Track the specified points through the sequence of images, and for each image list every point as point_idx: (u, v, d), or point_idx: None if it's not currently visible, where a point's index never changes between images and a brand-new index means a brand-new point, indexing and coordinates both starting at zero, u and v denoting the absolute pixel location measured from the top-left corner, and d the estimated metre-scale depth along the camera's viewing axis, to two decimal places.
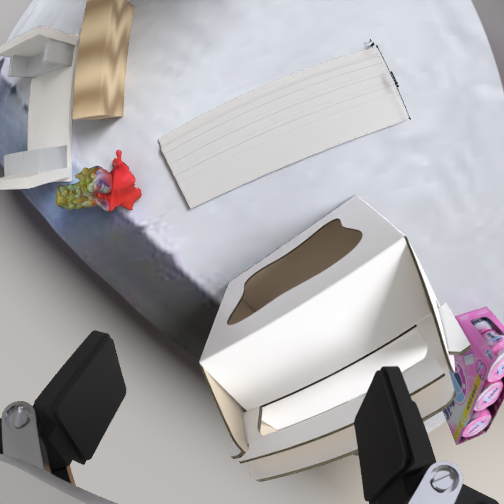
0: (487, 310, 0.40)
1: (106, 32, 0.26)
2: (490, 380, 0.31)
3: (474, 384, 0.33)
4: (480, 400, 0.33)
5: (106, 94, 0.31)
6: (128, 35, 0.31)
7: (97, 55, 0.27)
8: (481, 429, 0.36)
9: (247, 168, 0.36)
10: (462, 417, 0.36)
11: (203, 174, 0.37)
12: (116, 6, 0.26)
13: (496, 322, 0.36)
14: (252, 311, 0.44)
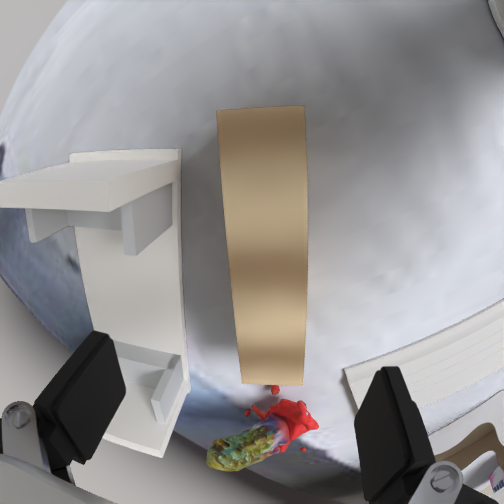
0: None
1: (307, 230, 0.16)
2: None
3: None
4: None
5: None
6: None
7: (291, 286, 0.17)
8: None
9: (435, 394, 0.26)
10: None
11: None
12: None
13: None
14: None
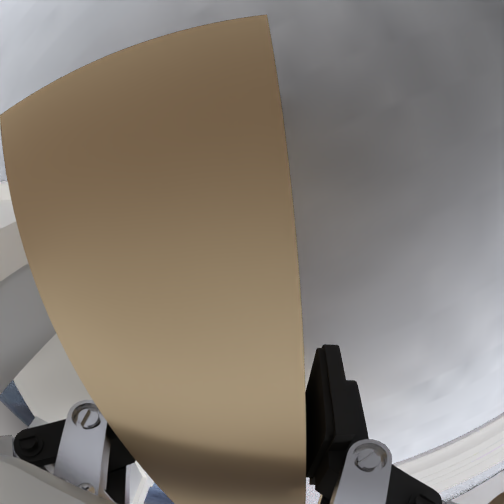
0: None
1: (305, 431, 0.05)
2: None
3: None
4: None
5: None
6: None
7: (271, 494, 0.06)
8: None
9: (460, 479, 0.16)
10: None
11: None
12: None
13: None
14: None
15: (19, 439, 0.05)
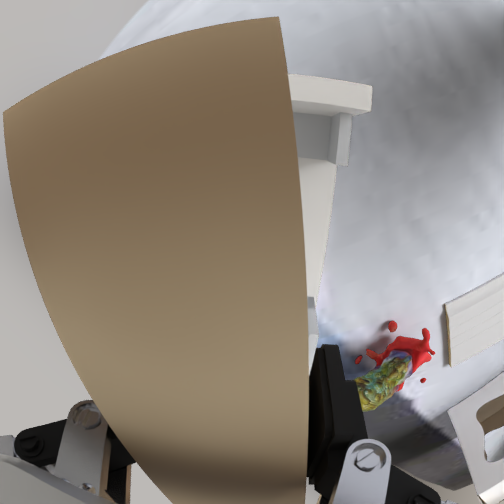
0: None
1: (307, 434, 0.05)
2: None
3: None
4: None
5: None
6: None
7: (271, 496, 0.06)
8: None
9: None
10: None
11: (474, 339, 0.29)
12: None
13: None
14: None
15: (20, 439, 0.05)
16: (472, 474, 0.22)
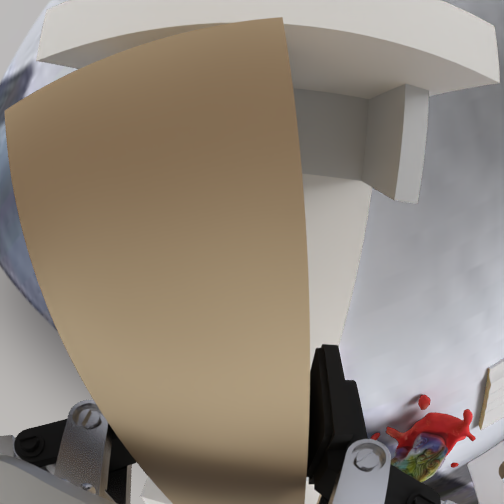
0: None
1: (308, 434, 0.05)
2: None
3: None
4: None
5: None
6: None
7: (271, 496, 0.06)
8: None
9: None
10: None
11: None
12: None
13: None
14: None
15: (20, 440, 0.05)
16: None
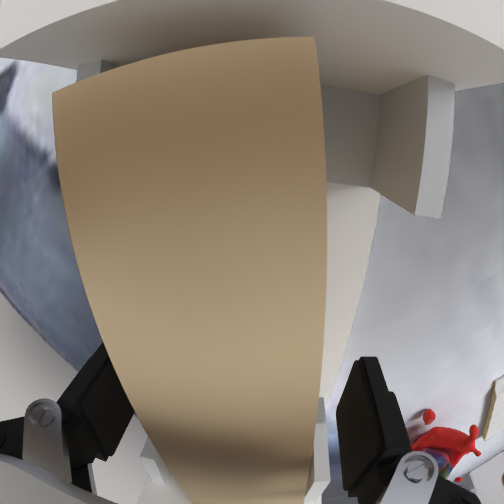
0: None
1: (317, 401, 0.06)
2: None
3: None
4: None
5: None
6: None
7: (277, 471, 0.07)
8: None
9: None
10: None
11: None
12: None
13: None
14: None
15: None
16: None
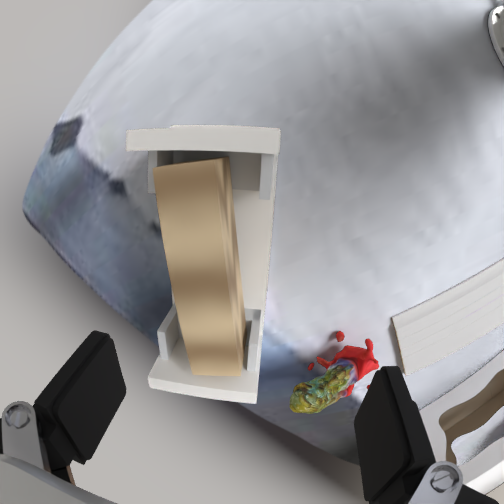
0: None
1: (224, 253, 0.21)
2: None
3: None
4: None
5: (238, 341, 0.25)
6: (233, 217, 0.26)
7: (217, 296, 0.22)
8: None
9: (461, 340, 0.32)
10: None
11: (427, 349, 0.33)
12: (220, 186, 0.21)
13: None
14: None
15: None
16: None
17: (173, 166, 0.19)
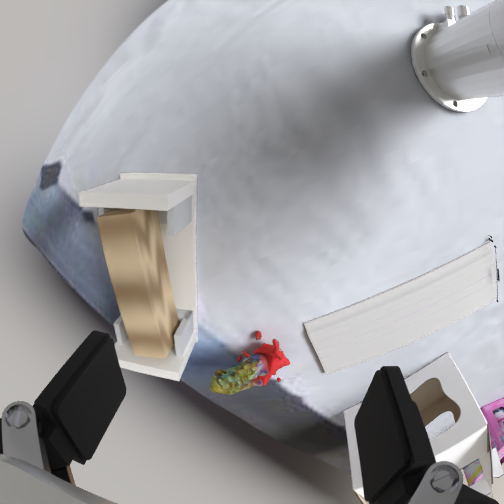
0: None
1: (143, 273, 0.30)
2: (499, 452, 0.36)
3: None
4: None
5: (164, 333, 0.34)
6: (161, 244, 0.35)
7: (142, 301, 0.31)
8: None
9: (379, 348, 0.41)
10: (476, 471, 0.41)
11: (343, 353, 0.42)
12: (140, 228, 0.30)
13: None
14: None
15: None
16: (351, 470, 0.35)
17: (108, 217, 0.28)
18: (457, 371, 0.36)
